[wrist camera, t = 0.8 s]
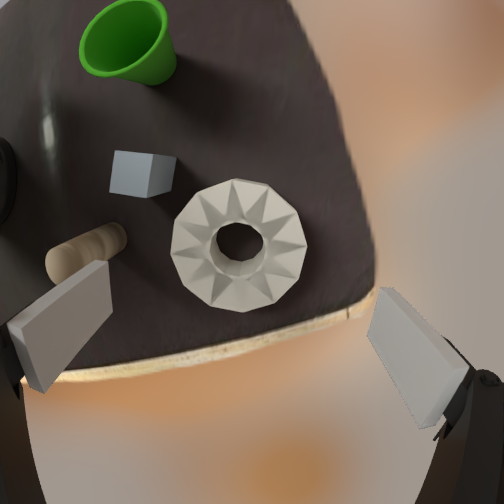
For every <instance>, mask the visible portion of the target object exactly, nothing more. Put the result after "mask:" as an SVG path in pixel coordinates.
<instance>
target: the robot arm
mask: <svg viewBox="0 0 504 504" xmlns="http://www.w3.org/2000/svg"><path fill="white" fill-rule="evenodd" d="M15 192H16V165H15V159H14V155H13V152H12V150H11V148H10V146H9V144H8V143H7V141H6V140H4V139H3V138H1V137H0V224H1V223H2V222H3V221H4V220H5V219H6V218H7V216H8V215H9V213H10V211H11V208H12V205H13V202H14V198H15ZM112 312H113V309H112V300H111V290H110V279H109V266H108V261H101V260H94V261H93V262H91V263H90V264H88V265H87V266H85V267H84V268H82V269H81V270H79V271H78V272H76V273H75V274H73V275H72V276H70V277H69V278H67V279H66V280H64V281H63V282H62V283H60V284H59V285H57V286H56V287H54V288H53V289H52V290H50V291H49V292H47V293H46V294H45V295H43V296H42V297H40V298H39V299H38V300H36V301H34V302H32V303H30V304H29V305H28V306H26V307H25V309H22V310H21V311H20V312H19V313H17V314H16V315H14V316H13V317H12V318H10V319H9V320H8V321H7V322H5V323H4V324H3V325H1V326H0V504H46V501H45V498H44V495H43V491H42V489H41V485H40V481H39V478H38V474H37V470H36V466H35V463H34V458H33V454H32V449H31V444H30V439H29V433H28V427H27V420H26V413H25V405H24V395H23V387H22V384H21V382H20V380H21V379H22V378H23V377H24V375H25V377H26V380H27V382H28V384H29V387H30V388H32V389H34V390H37V391H39V392H41V393H43V394H45V393H46V391H47V390H48V389H49V388H50V386H51V385H52V384H53V383H54V381H55V380H56V379H57V377H58V376H59V375H60V374H61V372H62V371H63V370H64V369H65V368H66V366H67V365H68V364H69V363H70V361H71V360H72V359H73V358H74V357H75V355H76V354H77V353H78V352H79V351H80V349H81V348H82V347H83V346H84V345H85V343H86V342H87V341H88V340H89V339H90V338H91V336H92V335H93V334H94V333H95V332H96V331H97V329H98V328H99V327H100V326H101V325H102V324H103V323H104V321H105V320H106V319H107V318H108V317H109V316H110V315H111V314H112ZM367 337H368V338H369V340H370V342H371V344H372V345H373V347H374V348H375V350H376V352H377V354H378V355H379V357H380V359H381V361H382V362H383V364H384V366H385V368H386V369H387V371H388V373H389V375H390V376H391V378H392V380H393V382H394V383H395V385H396V387H397V389H398V390H399V392H400V394H401V396H402V398H403V400H404V401H405V403H406V405H407V407H408V409H409V410H410V412H411V414H412V416H413V418H414V420H415V422H416V423H417V426H418V427H419V429H422V428H427V427H431V426H435V425H436V423H437V422H438V420H439V419H440V417H441V416H442V414H444V416H445V418H446V419H447V420H446V422H445V423H444V425H443V426H442V428H441V429H440V430H439V432H438V433H437V435H436V436H435V437H434V439H433V441H436V439H437V438H438V437H439V440H438V443H437V447H436V450H435V453H434V456H433V459H432V462H431V465H430V467H429V470H428V473H427V475H426V478H425V481H424V483H423V486H422V488H421V491H420V493H419V495H418V498H417V500H416V502H415V504H504V383H502V382H501V380H500V378H499V377H498V376H497V375H496V374H494V373H493V372H490V371H489V370H484V369H482V370H477V371H476V369H474V367H473V366H472V365H471V364H470V363H469V362H468V361H467V360H466V359H465V357H464V356H463V355H462V354H460V352H459V351H458V350H457V349H456V348H455V347H454V346H453V344H452V343H451V342H450V341H449V340H448V339H446V338H444V337H443V336H441V335H440V334H439V333H438V332H437V331H436V330H435V329H434V328H433V327H432V326H431V324H430V323H429V322H428V321H427V320H426V319H424V317H423V316H422V315H421V314H420V313H419V312H418V311H417V310H416V309H415V308H414V307H413V306H412V305H411V304H410V303H409V302H408V301H407V300H406V299H405V298H404V297H403V296H402V295H401V294H400V293H398V292H397V291H396V290H395V289H394V288H388V287H380V291H379V295H378V299H377V302H376V306H375V310H374V314H373V317H372V320H371V324H370V327H369V331H368V334H367Z"/></svg>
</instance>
